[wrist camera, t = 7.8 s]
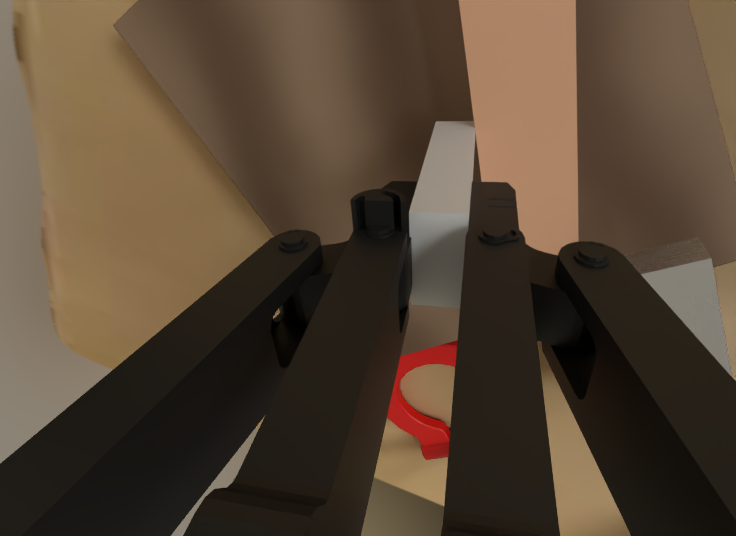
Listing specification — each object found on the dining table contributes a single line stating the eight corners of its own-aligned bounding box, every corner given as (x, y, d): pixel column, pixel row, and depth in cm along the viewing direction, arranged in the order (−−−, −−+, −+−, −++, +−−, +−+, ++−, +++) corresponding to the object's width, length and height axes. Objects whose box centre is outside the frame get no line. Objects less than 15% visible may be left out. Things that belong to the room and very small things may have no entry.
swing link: (397, -267, 12) (367, -324, 10) (600, -358, 11) (635, -458, 8) (480, 294, 22) (477, 348, 19) (594, 288, 20) (609, 345, 18)
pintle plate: (566, -393, 12) (576, -442, 10) (739, 235, 20) (760, 261, 18) (135, 19, 20) (105, 27, 19) (377, 345, 28) (370, 370, 26)
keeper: (550, 201, 21) (567, 291, 15) (653, 168, 19) (711, 258, 14) (604, 361, 25) (631, 474, 20) (692, 347, 23) (747, 466, 18)
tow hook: (354, 350, 29) (419, 448, 33) (269, 566, 19) (378, 677, 22) (483, 315, 26) (541, 429, 29) (466, 559, 15) (561, 693, 19)
